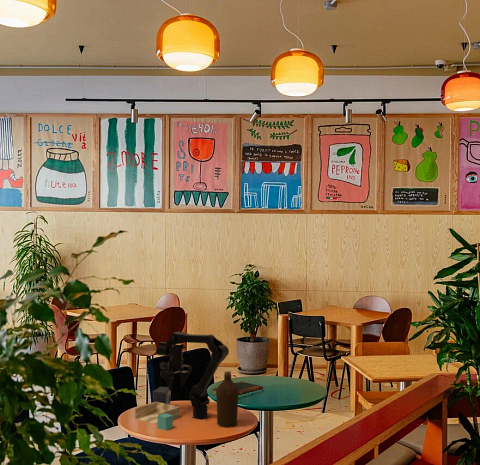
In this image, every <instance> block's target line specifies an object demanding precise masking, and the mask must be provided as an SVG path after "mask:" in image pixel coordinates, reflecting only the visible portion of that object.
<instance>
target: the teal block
mask: <svg viewBox="0 0 480 465" xmlns="http://www.w3.org/2000/svg"><path fill="white" fill-rule="evenodd" d="M173 422H174V420H173V415H170V414H166V413H164V414H161V415H159V416H158V423H157V424H156V425H157V427H156V428H157V429H159V430H161V431H162V430H163V431H168V430H171V429H173V428H174V425H173V424H174V423H173Z"/></svg>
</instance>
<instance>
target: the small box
mask: <svg viewBox="0 0 480 465" xmlns="http://www.w3.org/2000/svg"><path fill="white" fill-rule="evenodd" d="M171 392H172V390H169V388H168V386H159V387H157V388H156V389H155V390H154V391H153V393H152V397H153V398H152V403H153V402H160V403H164V404H169V405H171V396H172V395H171Z"/></svg>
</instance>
